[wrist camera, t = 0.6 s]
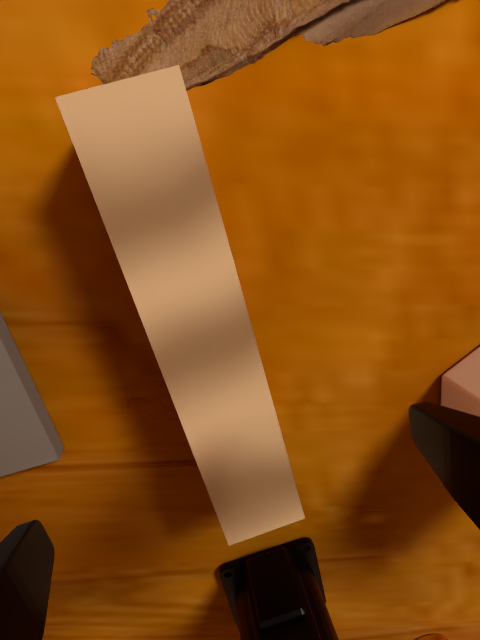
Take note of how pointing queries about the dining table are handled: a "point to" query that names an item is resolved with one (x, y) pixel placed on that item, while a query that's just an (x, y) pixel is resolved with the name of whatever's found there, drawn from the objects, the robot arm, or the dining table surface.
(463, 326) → the dining table surface
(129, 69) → the fish fossil
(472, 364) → the jar
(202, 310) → the beech bar
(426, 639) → the cup with straw
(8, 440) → the fulcrum
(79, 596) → the dining table surface
